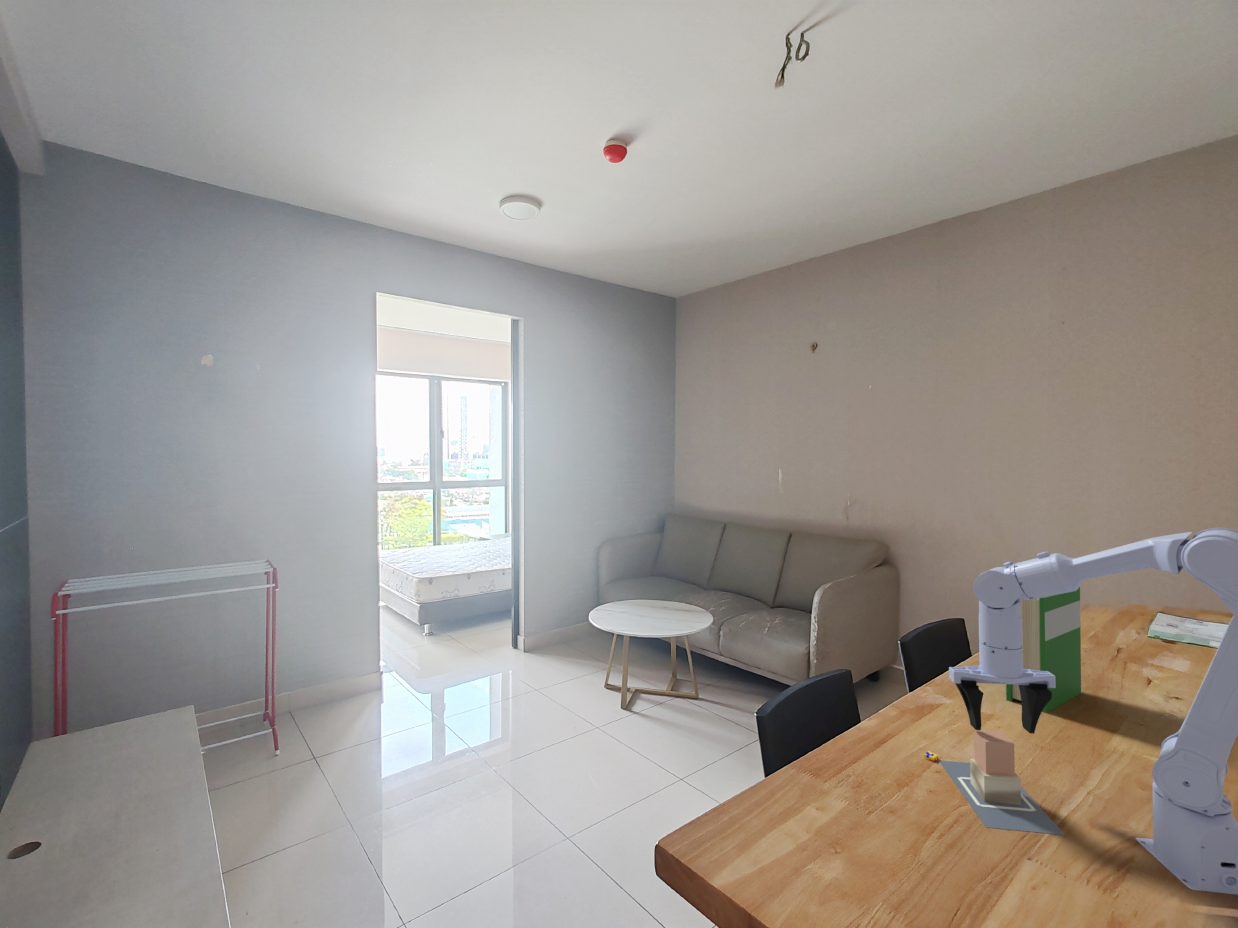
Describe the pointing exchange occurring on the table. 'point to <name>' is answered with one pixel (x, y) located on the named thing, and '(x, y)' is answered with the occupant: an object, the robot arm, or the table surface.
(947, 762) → the board
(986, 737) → the terracotta block
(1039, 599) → the hardback book
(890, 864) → the table surface
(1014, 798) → the birch base block
